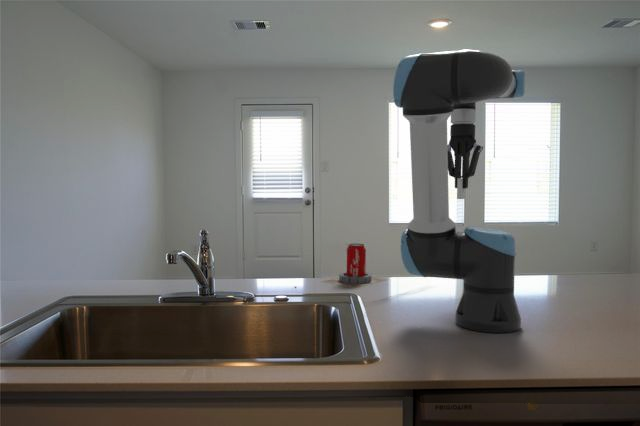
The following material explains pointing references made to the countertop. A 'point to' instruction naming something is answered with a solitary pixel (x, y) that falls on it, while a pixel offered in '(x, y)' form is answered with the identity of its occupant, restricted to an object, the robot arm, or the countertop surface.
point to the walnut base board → (336, 281)
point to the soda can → (356, 260)
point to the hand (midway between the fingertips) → (460, 198)
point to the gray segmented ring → (355, 278)
